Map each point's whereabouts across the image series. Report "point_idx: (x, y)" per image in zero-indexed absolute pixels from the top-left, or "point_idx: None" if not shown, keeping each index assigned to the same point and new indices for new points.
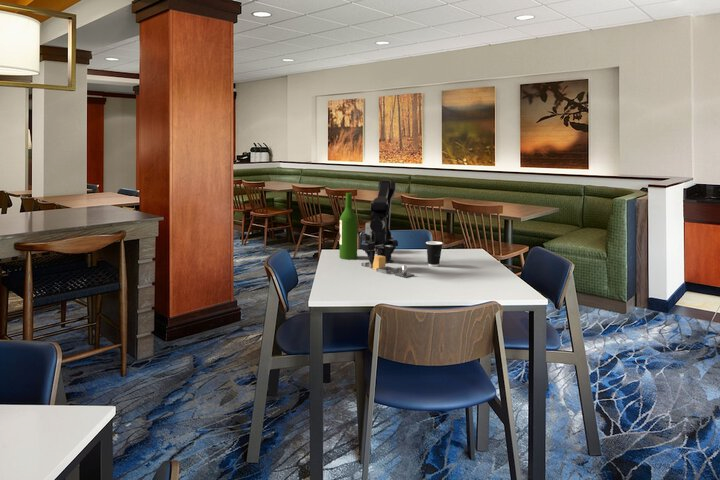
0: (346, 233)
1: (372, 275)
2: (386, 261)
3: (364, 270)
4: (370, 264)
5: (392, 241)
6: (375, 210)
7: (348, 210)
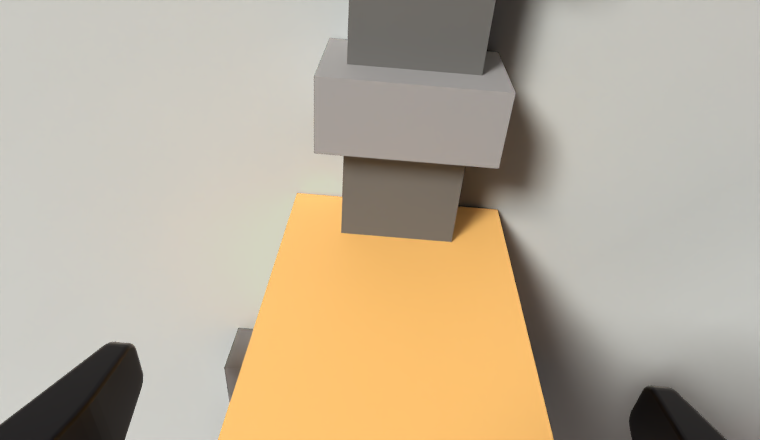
0: None
1: None
2: (636, 420)
3: (53, 159)
4: (314, 128)
5: None
6: None
7: None
